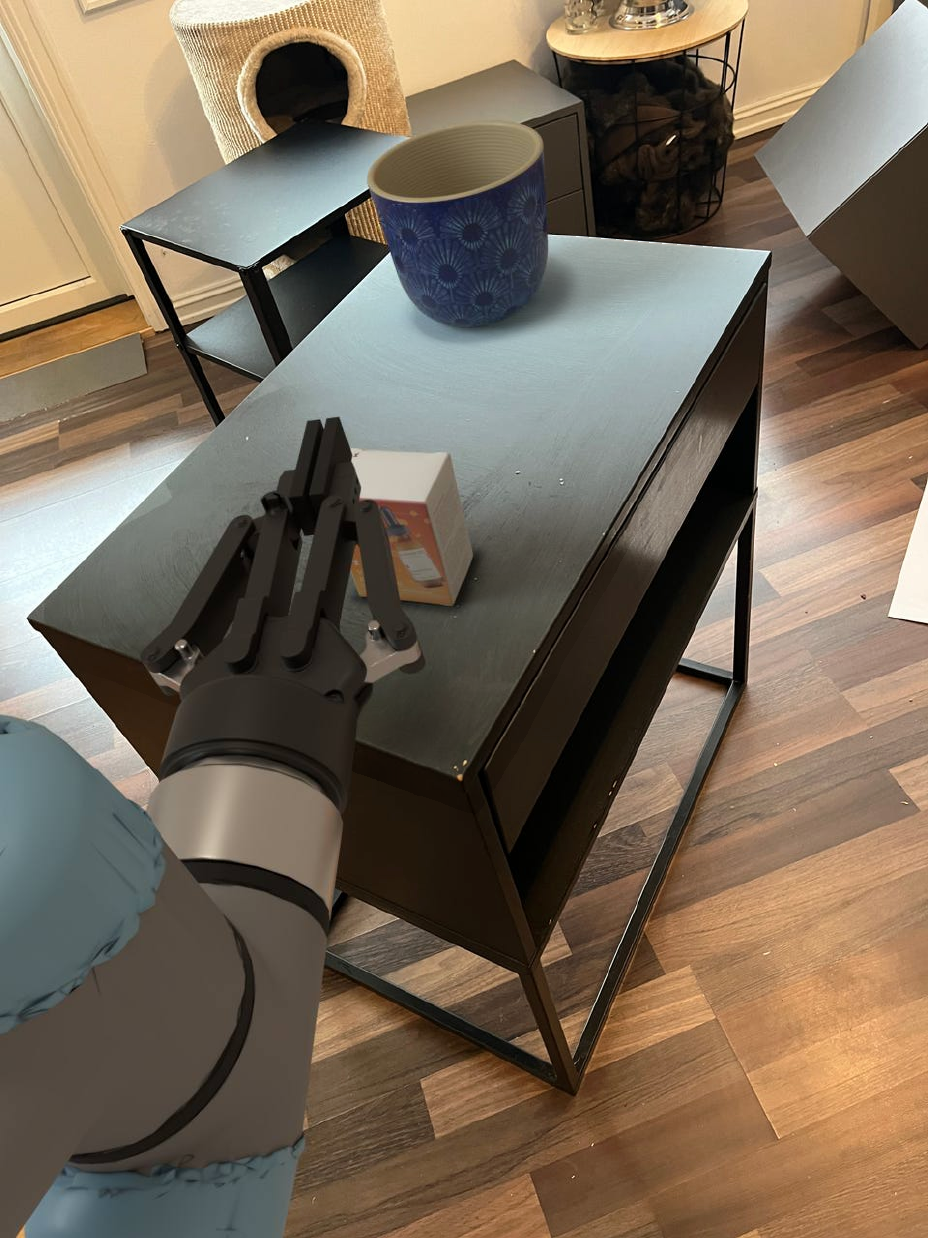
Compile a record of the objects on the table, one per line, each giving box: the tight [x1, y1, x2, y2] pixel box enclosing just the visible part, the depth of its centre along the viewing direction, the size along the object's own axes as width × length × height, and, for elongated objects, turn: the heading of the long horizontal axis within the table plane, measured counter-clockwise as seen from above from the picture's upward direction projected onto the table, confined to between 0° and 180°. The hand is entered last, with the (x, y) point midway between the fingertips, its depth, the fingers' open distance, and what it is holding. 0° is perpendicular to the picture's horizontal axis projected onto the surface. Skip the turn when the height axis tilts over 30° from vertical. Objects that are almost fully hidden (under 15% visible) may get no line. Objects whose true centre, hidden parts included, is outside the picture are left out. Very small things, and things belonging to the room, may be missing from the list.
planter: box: [366, 119, 549, 328], centre depth 93 cm, size 17×17×15 cm
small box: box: [350, 447, 474, 607], centre depth 69 cm, size 8×6×10 cm
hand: (330, 438), depth 52 cm, fingers closed
